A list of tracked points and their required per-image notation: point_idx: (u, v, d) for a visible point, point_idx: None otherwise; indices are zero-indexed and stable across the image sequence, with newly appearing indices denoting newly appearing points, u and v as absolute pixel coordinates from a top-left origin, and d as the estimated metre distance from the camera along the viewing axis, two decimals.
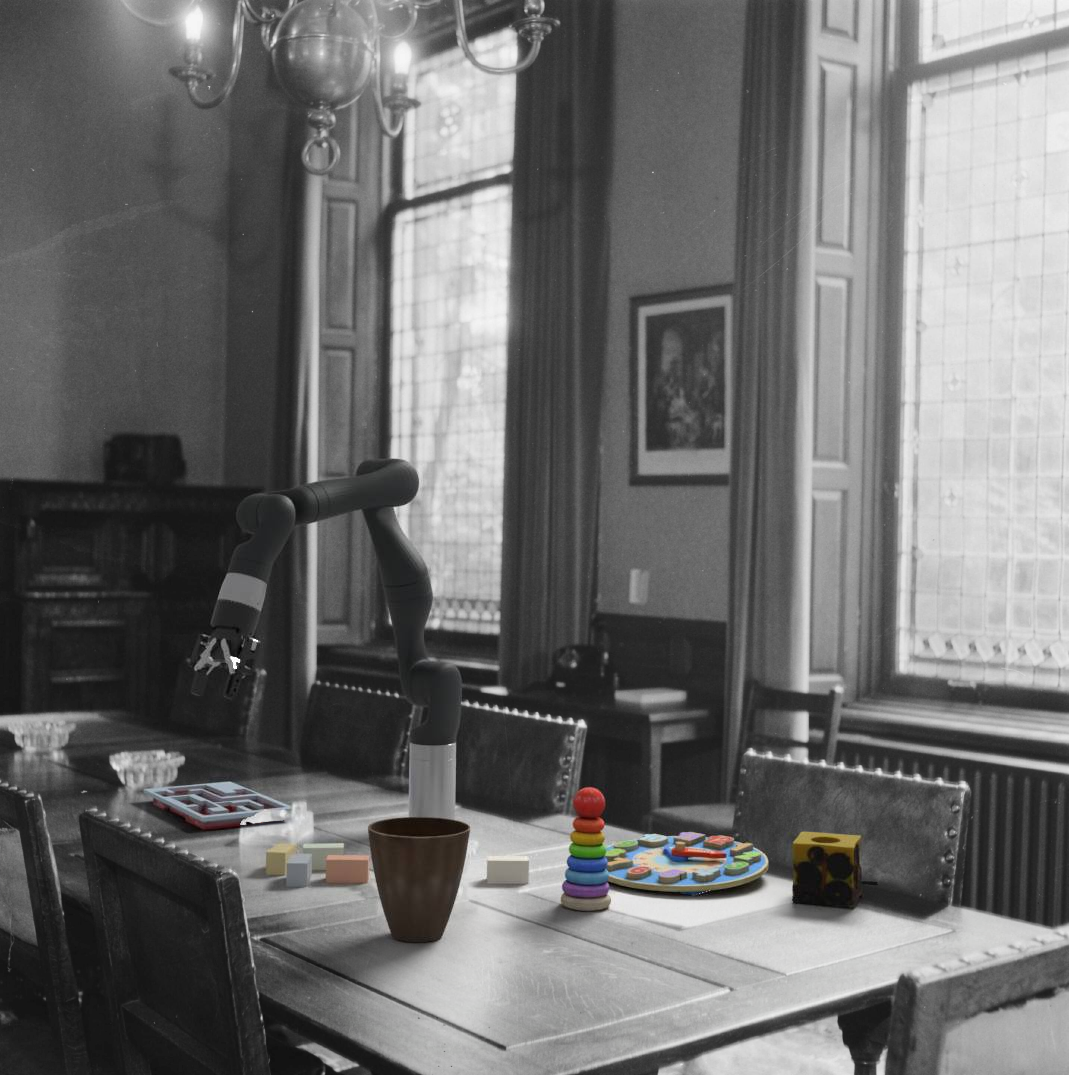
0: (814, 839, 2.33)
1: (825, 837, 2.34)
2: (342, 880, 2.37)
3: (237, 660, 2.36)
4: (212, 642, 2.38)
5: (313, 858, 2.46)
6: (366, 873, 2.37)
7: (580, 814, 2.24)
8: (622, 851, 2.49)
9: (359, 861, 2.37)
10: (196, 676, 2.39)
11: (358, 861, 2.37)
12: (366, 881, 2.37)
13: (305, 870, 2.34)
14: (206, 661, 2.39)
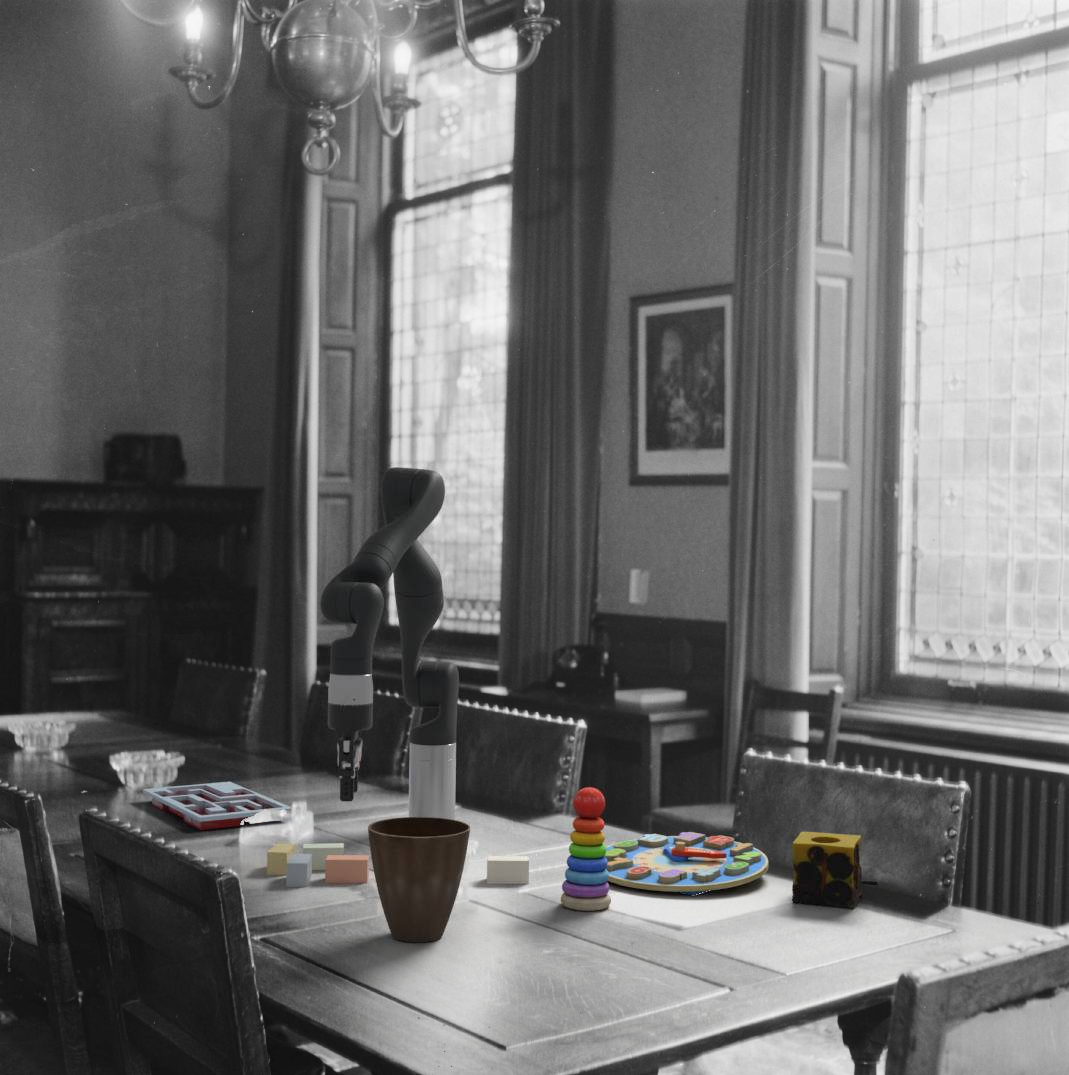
0: (814, 839, 2.33)
1: (825, 837, 2.34)
2: (342, 880, 2.37)
3: (346, 761, 2.35)
4: None
5: (313, 858, 2.46)
6: (366, 873, 2.37)
7: (580, 814, 2.24)
8: (622, 851, 2.49)
9: (358, 861, 2.37)
10: None
11: (357, 861, 2.37)
12: (366, 881, 2.37)
13: (305, 870, 2.34)
14: None
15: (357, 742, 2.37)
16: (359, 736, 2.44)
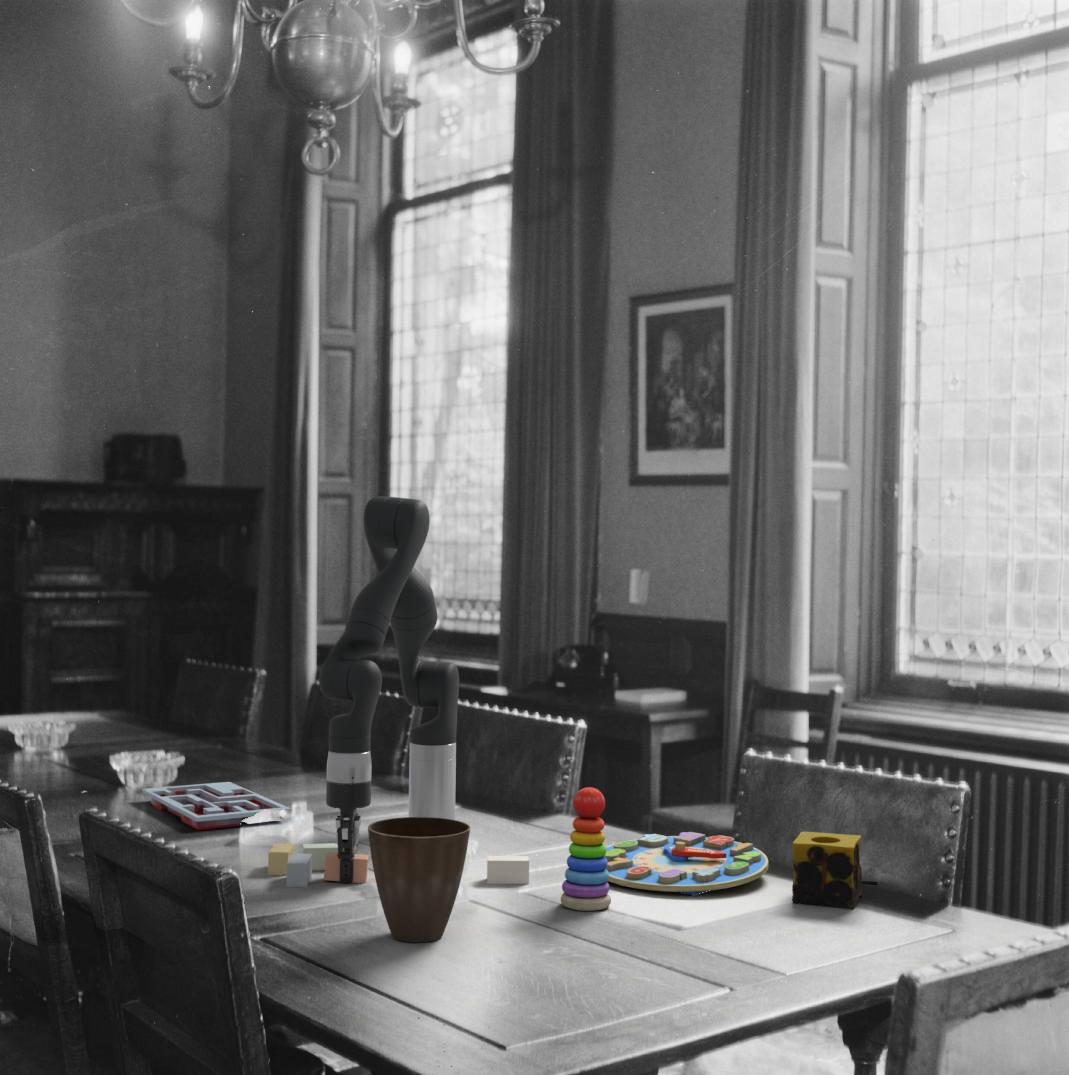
0: (814, 839, 2.33)
1: (825, 837, 2.34)
2: None
3: None
4: None
5: (313, 858, 2.46)
6: (365, 872, 2.37)
7: (580, 814, 2.24)
8: (622, 851, 2.49)
9: (359, 860, 2.37)
10: None
11: (358, 860, 2.37)
12: (364, 880, 2.37)
13: (305, 870, 2.34)
14: None
15: (355, 821, 2.37)
16: None
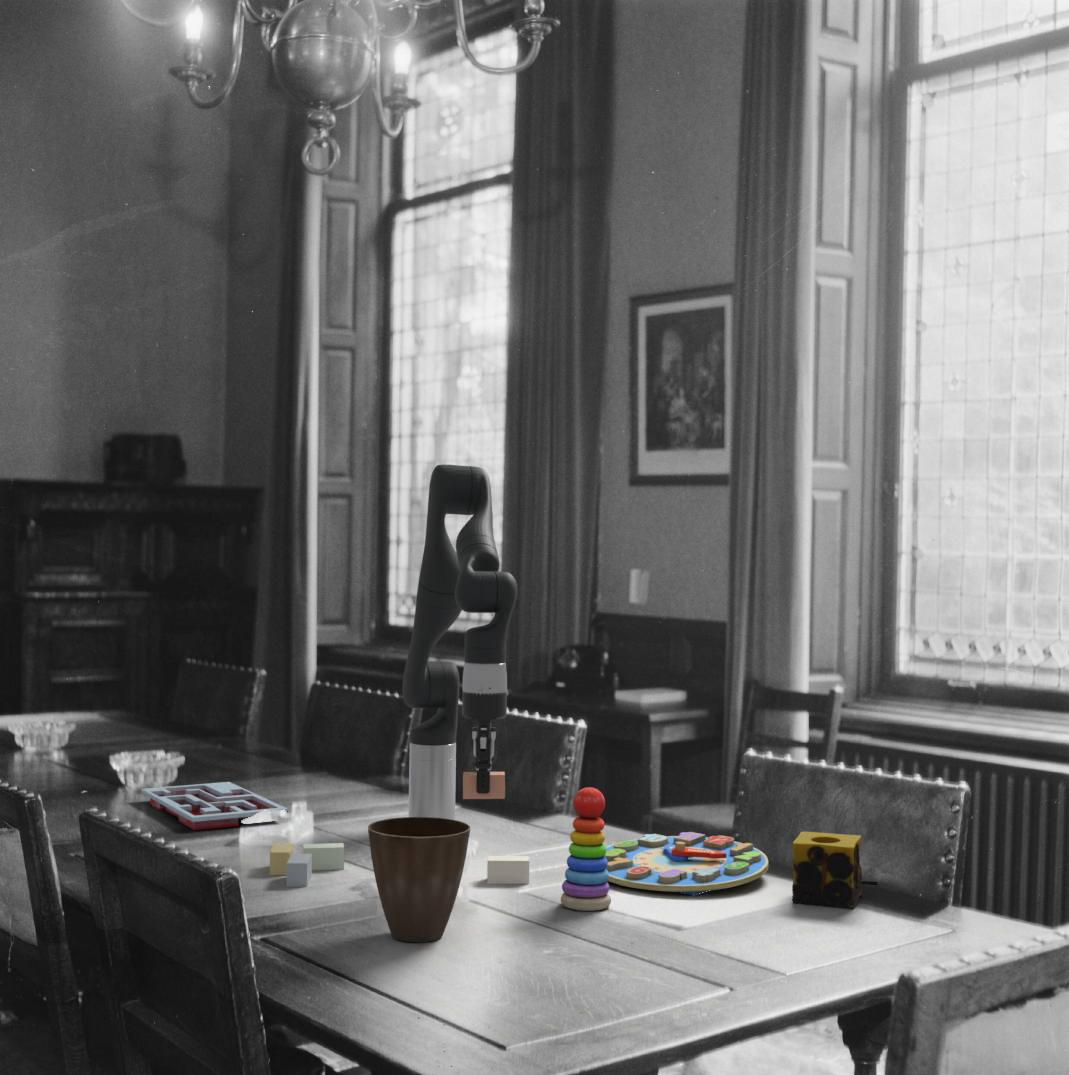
0: (814, 839, 2.33)
1: (825, 837, 2.34)
2: (479, 795, 2.38)
3: None
4: None
5: (314, 858, 2.46)
6: (503, 788, 2.38)
7: (580, 814, 2.24)
8: (622, 851, 2.49)
9: (496, 776, 2.38)
10: None
11: (495, 776, 2.38)
12: (503, 796, 2.38)
13: (305, 870, 2.34)
14: None
15: (492, 732, 2.38)
16: None
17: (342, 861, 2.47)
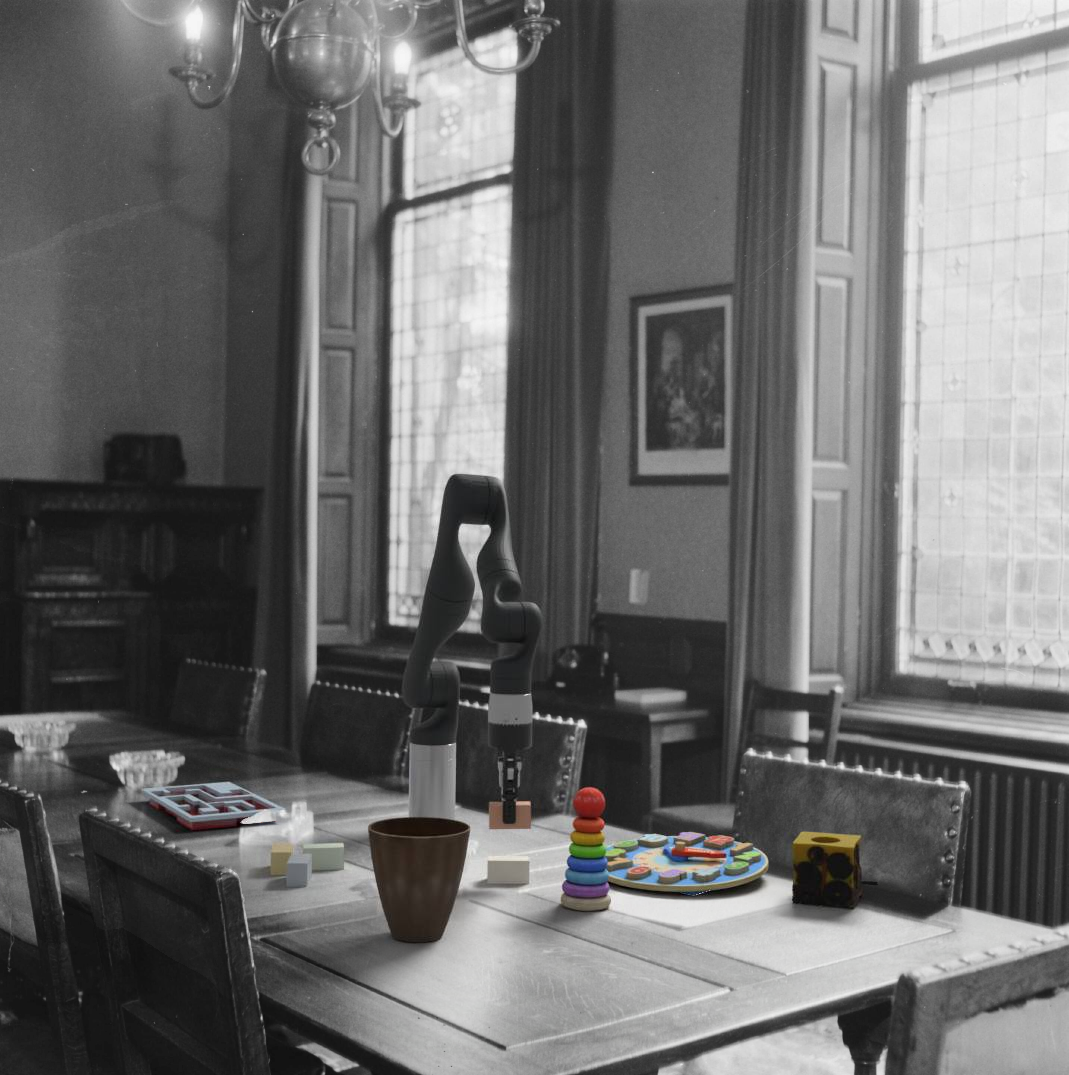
0: (814, 839, 2.33)
1: (825, 837, 2.34)
2: (506, 825, 2.38)
3: None
4: None
5: (314, 858, 2.46)
6: (529, 818, 2.38)
7: (580, 814, 2.24)
8: (622, 851, 2.49)
9: (522, 806, 2.38)
10: None
11: (521, 806, 2.38)
12: (529, 826, 2.38)
13: (305, 870, 2.34)
14: None
15: (518, 762, 2.38)
16: None
17: (342, 861, 2.47)
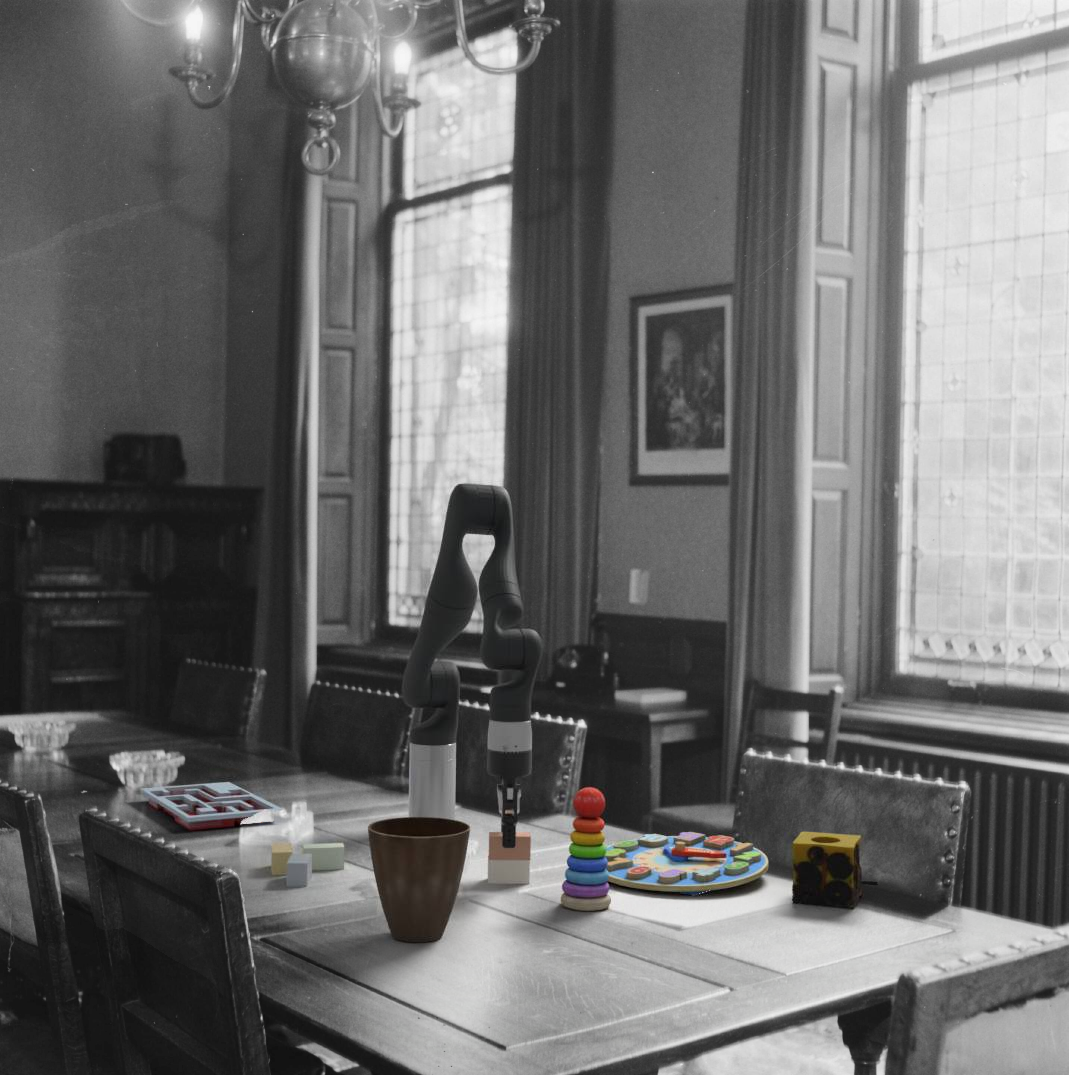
0: (814, 839, 2.33)
1: (825, 837, 2.34)
2: (505, 856, 2.38)
3: (508, 808, 2.36)
4: (497, 789, 2.41)
5: (314, 858, 2.46)
6: (529, 849, 2.39)
7: (580, 814, 2.24)
8: (622, 851, 2.49)
9: (522, 838, 2.39)
10: None
11: (521, 838, 2.39)
12: (529, 857, 2.39)
13: (305, 870, 2.34)
14: (503, 805, 2.43)
15: (517, 788, 2.38)
16: None
17: (342, 861, 2.47)
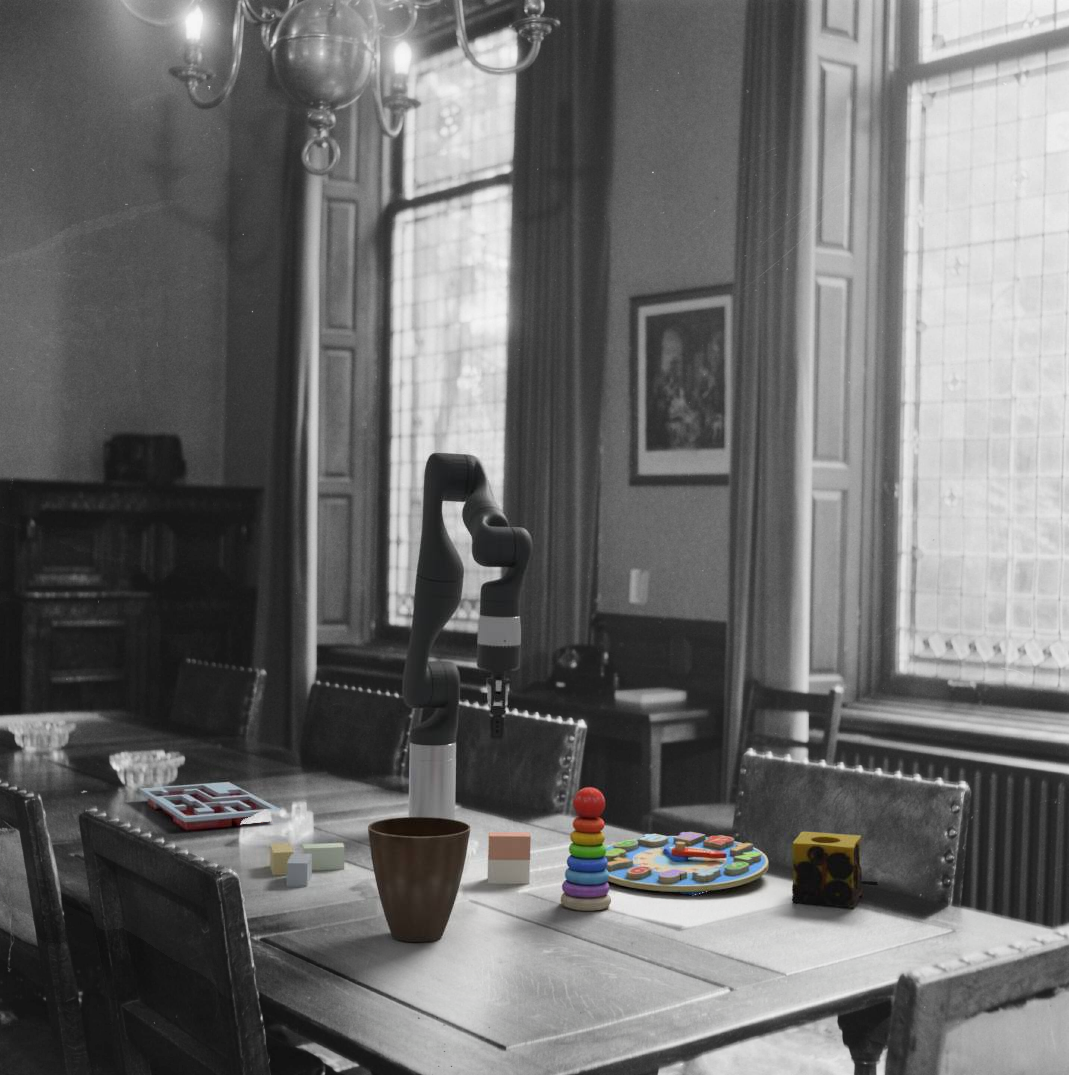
0: (814, 839, 2.33)
1: (825, 837, 2.34)
2: (505, 856, 2.38)
3: (497, 700, 2.42)
4: (486, 683, 2.47)
5: (314, 858, 2.46)
6: (529, 849, 2.39)
7: (580, 814, 2.24)
8: (622, 851, 2.49)
9: (522, 837, 2.39)
10: None
11: (521, 837, 2.39)
12: (529, 857, 2.39)
13: (305, 870, 2.34)
14: None
15: (506, 682, 2.44)
16: None
17: (342, 861, 2.47)
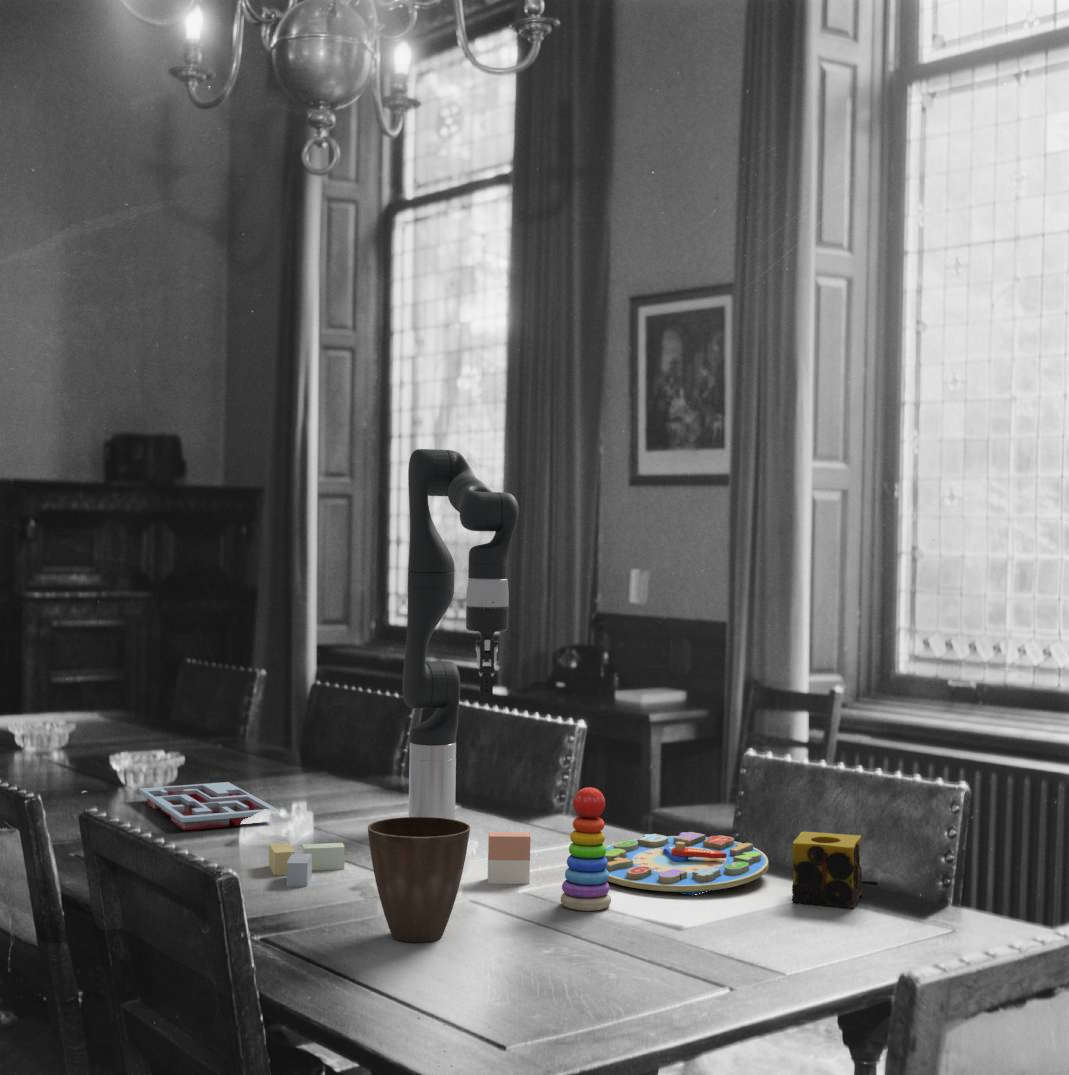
0: (814, 839, 2.33)
1: (825, 837, 2.34)
2: (505, 857, 2.38)
3: (486, 660, 2.48)
4: None
5: (314, 858, 2.46)
6: (528, 850, 2.39)
7: (580, 814, 2.24)
8: (622, 851, 2.49)
9: (521, 838, 2.39)
10: None
11: (520, 838, 2.39)
12: (528, 857, 2.39)
13: (305, 870, 2.34)
14: None
15: (494, 643, 2.50)
16: None
17: (342, 861, 2.47)
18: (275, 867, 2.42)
